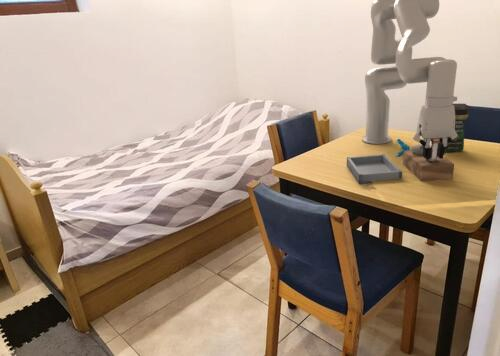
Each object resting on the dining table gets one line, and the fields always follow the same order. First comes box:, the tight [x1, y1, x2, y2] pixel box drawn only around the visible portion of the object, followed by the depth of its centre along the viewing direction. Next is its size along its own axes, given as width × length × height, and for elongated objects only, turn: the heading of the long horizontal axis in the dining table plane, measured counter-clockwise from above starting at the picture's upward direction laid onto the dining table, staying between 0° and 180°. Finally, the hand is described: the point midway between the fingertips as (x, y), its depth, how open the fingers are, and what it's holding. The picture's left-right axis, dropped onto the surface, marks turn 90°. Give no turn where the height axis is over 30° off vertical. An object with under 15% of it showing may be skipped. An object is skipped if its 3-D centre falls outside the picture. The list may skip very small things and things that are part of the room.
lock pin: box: [429, 138, 440, 163], centre depth 119 cm, size 3×3×13 cm
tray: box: [346, 153, 403, 185], centre depth 129 cm, size 18×14×4 cm
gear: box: [395, 138, 412, 158], centre depth 141 cm, size 11×6×10 cm
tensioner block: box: [402, 144, 455, 182], centre depth 124 cm, size 16×10×9 cm, turn 179°
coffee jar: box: [444, 103, 469, 154], centre depth 140 cm, size 10×8×19 cm
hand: (433, 157), depth 119 cm, fingers open, 3 cm apart
